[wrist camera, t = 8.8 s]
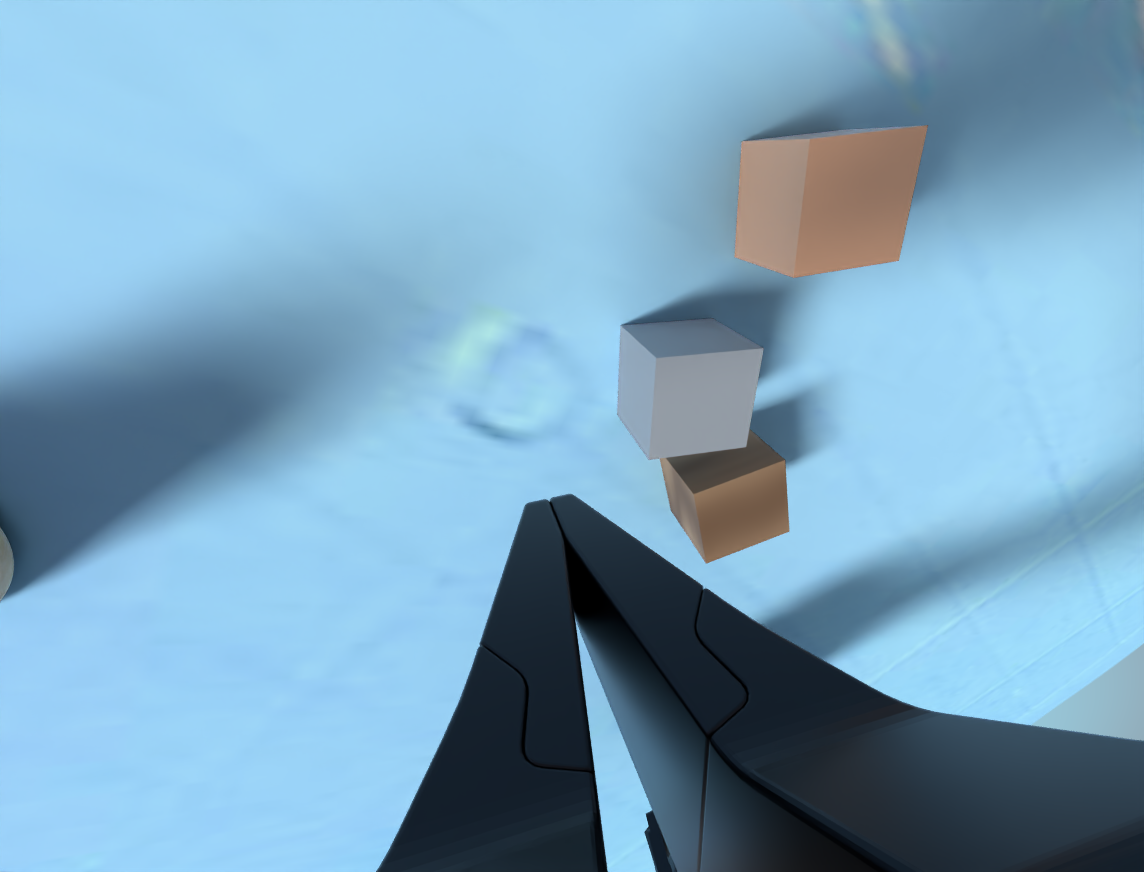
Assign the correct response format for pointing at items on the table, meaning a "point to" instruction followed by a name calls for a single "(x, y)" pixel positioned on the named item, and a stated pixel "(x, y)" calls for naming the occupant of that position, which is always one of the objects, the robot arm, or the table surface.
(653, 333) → the slate block
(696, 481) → the walnut cube
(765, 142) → the terracotta block
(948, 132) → the table surface
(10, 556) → the stacking toy
